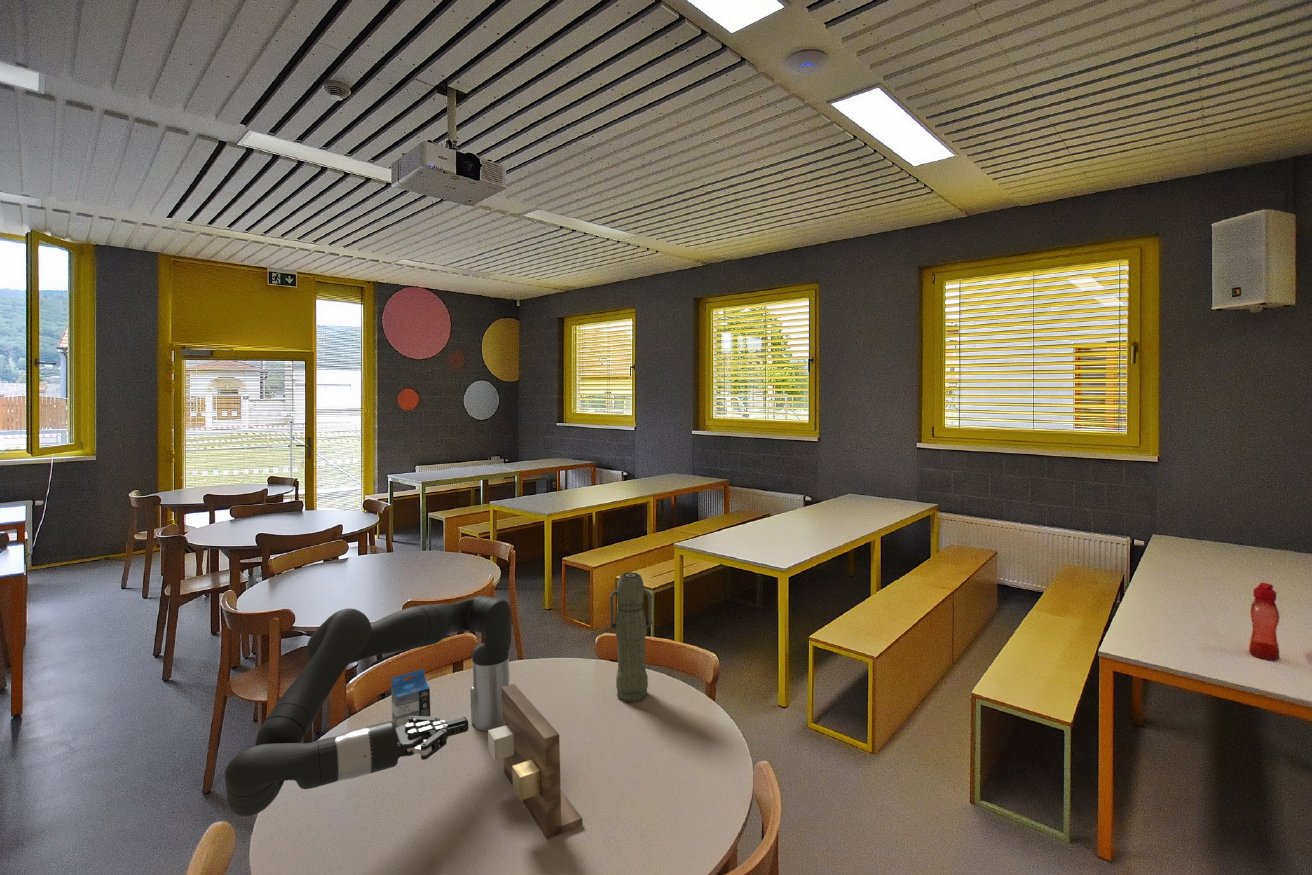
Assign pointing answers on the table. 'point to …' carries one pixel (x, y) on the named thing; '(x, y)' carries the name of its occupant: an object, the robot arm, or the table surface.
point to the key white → (501, 742)
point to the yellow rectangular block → (526, 779)
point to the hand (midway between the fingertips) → (467, 723)
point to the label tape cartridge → (409, 697)
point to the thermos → (631, 636)
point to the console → (538, 762)
